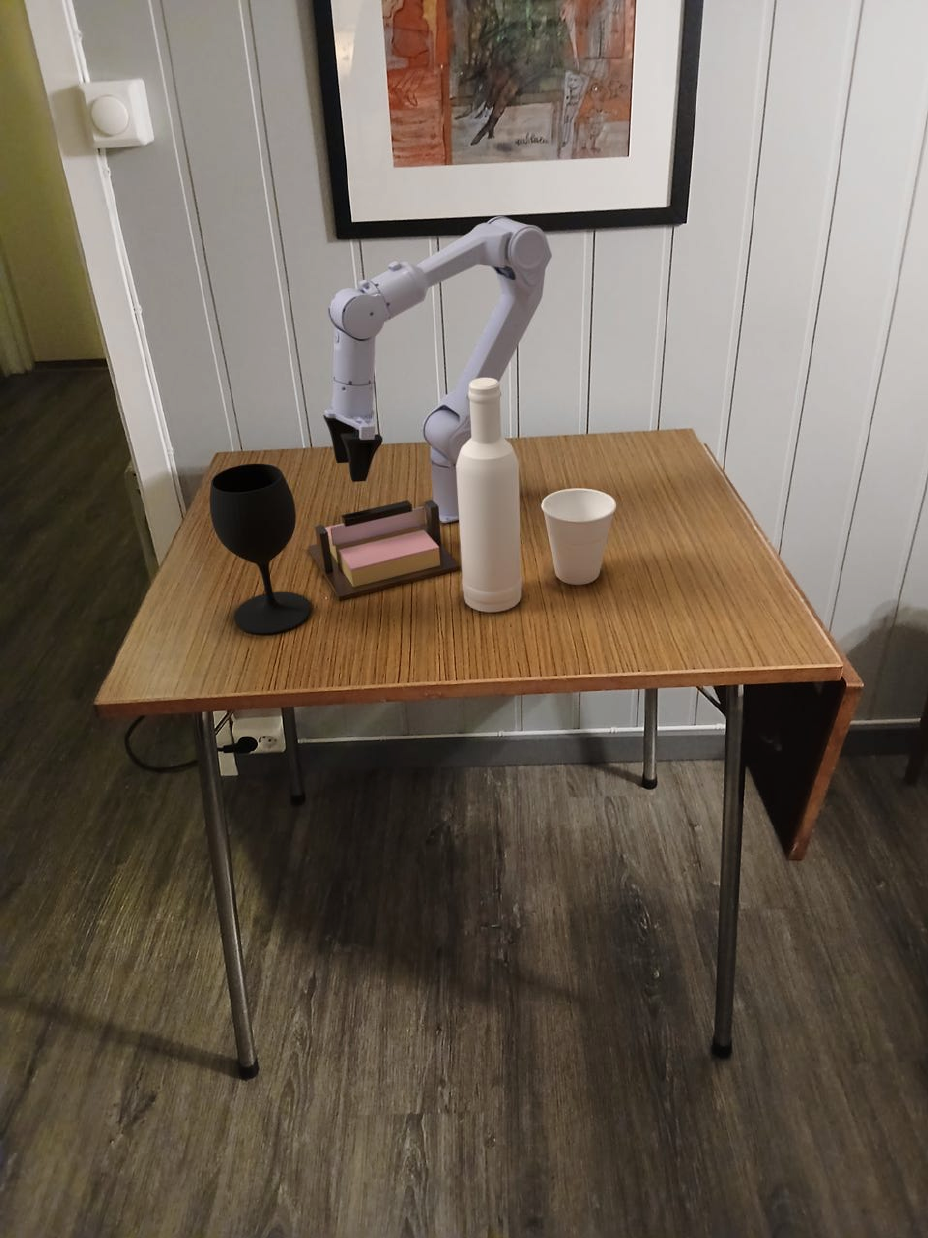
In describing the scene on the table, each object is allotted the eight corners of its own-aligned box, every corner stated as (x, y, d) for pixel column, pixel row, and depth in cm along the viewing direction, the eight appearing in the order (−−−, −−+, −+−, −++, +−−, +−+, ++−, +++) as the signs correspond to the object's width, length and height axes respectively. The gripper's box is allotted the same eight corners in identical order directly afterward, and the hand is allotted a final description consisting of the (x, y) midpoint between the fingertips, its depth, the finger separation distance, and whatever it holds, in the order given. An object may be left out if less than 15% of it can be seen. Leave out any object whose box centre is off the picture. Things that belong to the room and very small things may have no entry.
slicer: (420, 524, 145) (416, 481, 141) (460, 569, 133) (457, 525, 129) (308, 550, 140) (301, 507, 136) (339, 601, 127) (332, 555, 123)
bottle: (527, 609, 123) (524, 389, 107) (469, 617, 122) (456, 396, 106) (514, 579, 130) (509, 368, 113) (459, 586, 129) (446, 374, 112)
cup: (566, 601, 124) (567, 528, 118) (528, 569, 132) (527, 499, 126) (627, 580, 128) (631, 508, 122) (586, 551, 135) (588, 481, 129)
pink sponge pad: (407, 526, 143) (405, 508, 141) (440, 565, 132) (439, 547, 131) (326, 545, 139) (323, 527, 137) (353, 587, 128) (350, 568, 127)
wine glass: (276, 643, 119) (248, 502, 108) (217, 623, 124) (185, 486, 113) (327, 605, 126) (306, 469, 115) (270, 587, 131) (244, 455, 120)
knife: (422, 521, 137) (420, 496, 134) (426, 525, 135) (424, 501, 133) (331, 543, 132) (327, 518, 130) (334, 548, 131) (330, 522, 129)
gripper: (312, 366, 135) (311, 455, 141) (340, 395, 123) (338, 491, 130) (358, 365, 137) (356, 453, 144) (391, 393, 126) (386, 487, 133)
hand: (350, 471), depth 137 cm, fingers open, 7 cm apart
